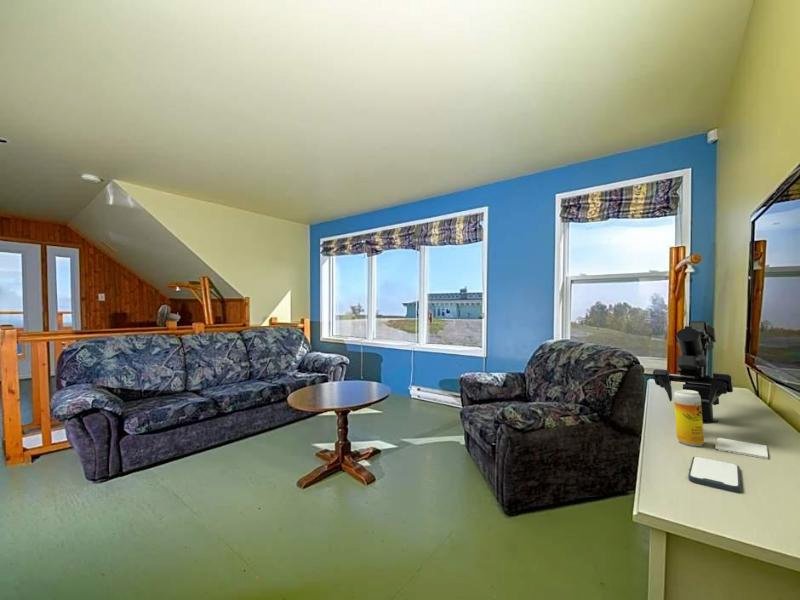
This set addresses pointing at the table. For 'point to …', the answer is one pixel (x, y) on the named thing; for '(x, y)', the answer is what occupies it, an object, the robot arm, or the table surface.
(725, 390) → the robot arm
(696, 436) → the beer can
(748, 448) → the mat
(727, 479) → the phone case
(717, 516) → the table surface
